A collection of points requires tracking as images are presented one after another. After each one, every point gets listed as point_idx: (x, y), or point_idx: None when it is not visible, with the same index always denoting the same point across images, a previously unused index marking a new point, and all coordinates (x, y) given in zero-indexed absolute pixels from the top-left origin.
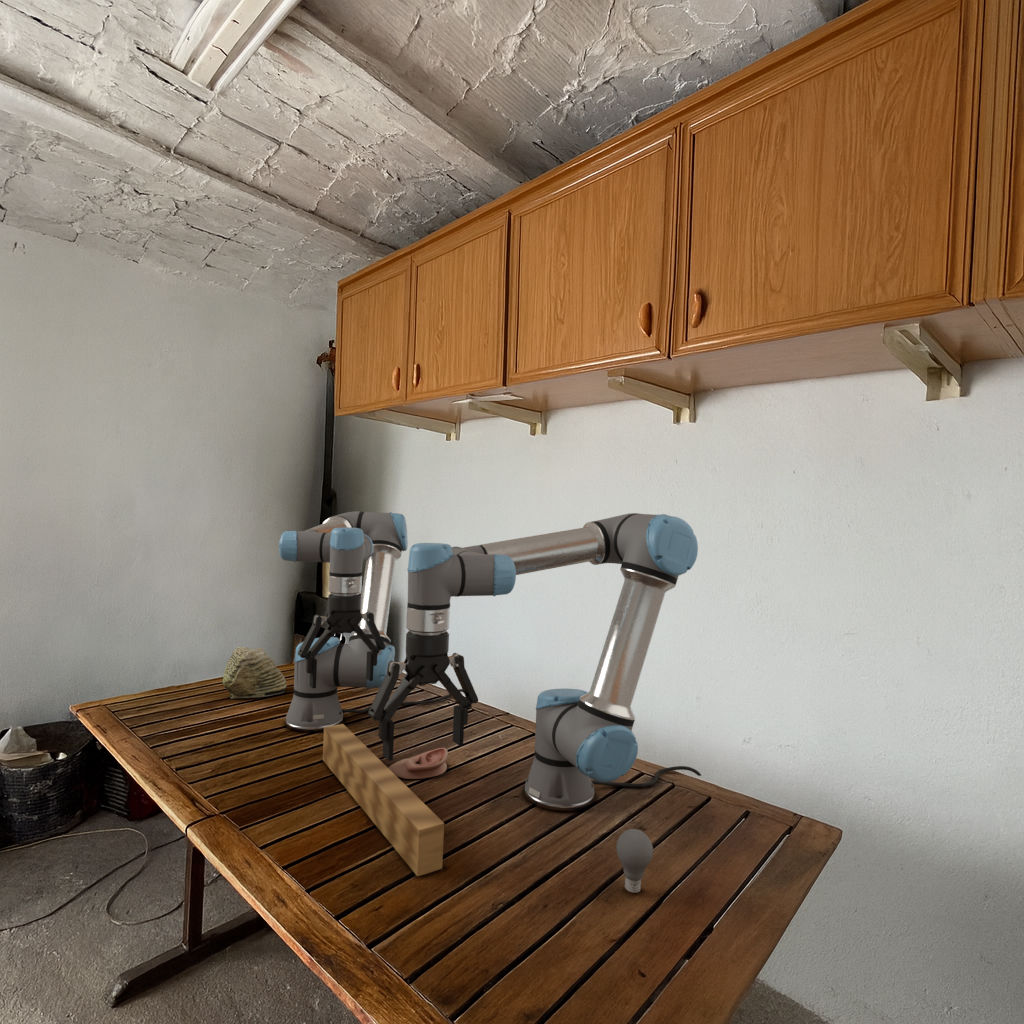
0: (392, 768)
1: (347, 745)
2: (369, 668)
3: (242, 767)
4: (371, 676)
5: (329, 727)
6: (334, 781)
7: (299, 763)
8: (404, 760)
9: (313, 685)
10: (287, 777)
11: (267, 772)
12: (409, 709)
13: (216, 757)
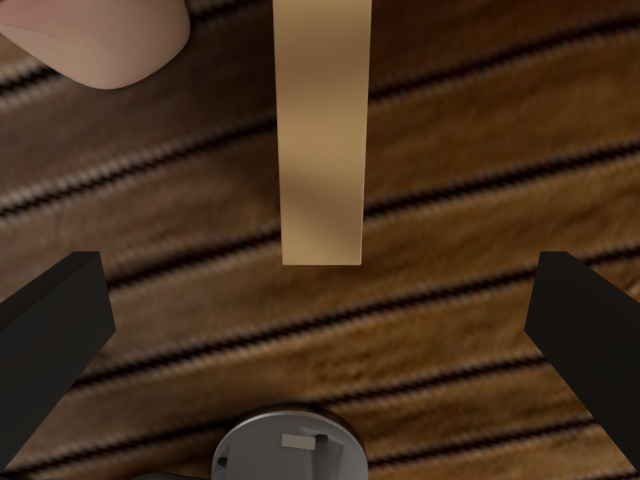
0: (171, 10)
1: (345, 12)
2: (42, 324)
3: None
4: (66, 265)
5: (343, 250)
6: (372, 48)
7: (418, 229)
8: (114, 22)
9: (573, 261)
10: (484, 149)
11: (518, 210)
12: None
13: None
